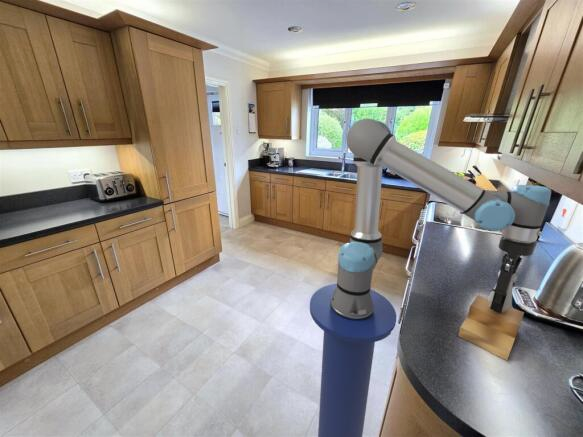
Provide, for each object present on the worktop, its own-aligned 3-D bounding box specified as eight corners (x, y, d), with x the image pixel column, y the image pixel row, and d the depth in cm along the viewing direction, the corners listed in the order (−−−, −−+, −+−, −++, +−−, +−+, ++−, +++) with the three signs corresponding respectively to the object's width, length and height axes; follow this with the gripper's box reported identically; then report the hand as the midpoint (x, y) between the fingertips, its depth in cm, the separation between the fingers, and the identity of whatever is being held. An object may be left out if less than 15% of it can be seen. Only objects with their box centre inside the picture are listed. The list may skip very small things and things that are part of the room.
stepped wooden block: (458, 335, 77) (463, 314, 74) (472, 314, 87) (477, 294, 84) (507, 360, 68) (515, 337, 66) (517, 333, 78) (524, 312, 76)
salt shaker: (511, 316, 74) (523, 279, 70) (487, 310, 77) (498, 273, 73) (507, 306, 78) (518, 270, 75) (485, 300, 81) (494, 265, 77)
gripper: (531, 251, 62) (507, 326, 69) (539, 234, 74) (518, 300, 80) (494, 243, 67) (475, 313, 74) (507, 228, 79) (490, 290, 86)
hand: (497, 306), depth 77 cm, fingers closed on salt shaker, 6 cm apart
